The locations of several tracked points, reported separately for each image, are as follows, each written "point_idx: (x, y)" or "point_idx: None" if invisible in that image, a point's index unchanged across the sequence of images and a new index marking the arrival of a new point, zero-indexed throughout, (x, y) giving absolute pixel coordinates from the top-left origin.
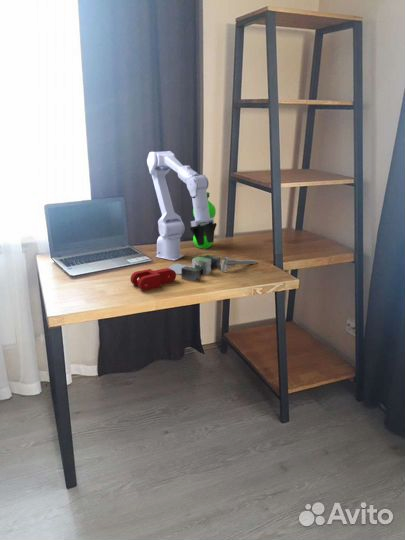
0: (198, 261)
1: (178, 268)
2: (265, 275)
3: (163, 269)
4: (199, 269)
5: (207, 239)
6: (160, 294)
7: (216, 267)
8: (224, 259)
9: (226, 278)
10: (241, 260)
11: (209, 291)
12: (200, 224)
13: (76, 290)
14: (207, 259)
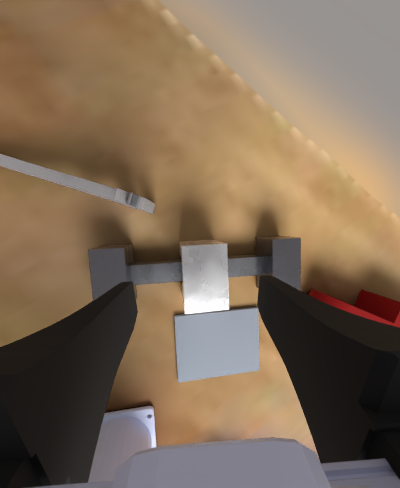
0: (226, 279)
1: (217, 343)
2: (79, 48)
3: None
4: (274, 239)
5: (131, 328)
6: (397, 260)
7: (131, 244)
8: (135, 200)
9: (198, 167)
10: (24, 170)
11: (321, 161)
12: (337, 480)
13: None
14: (196, 255)
